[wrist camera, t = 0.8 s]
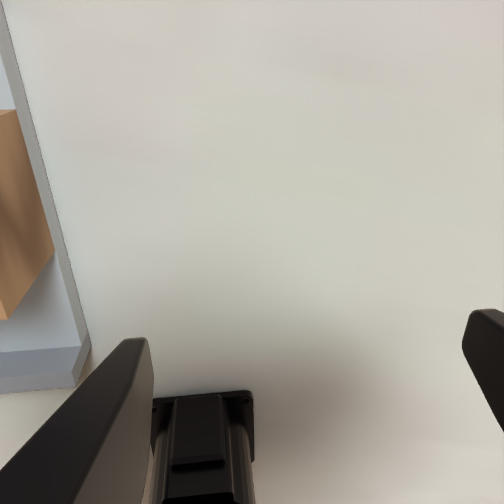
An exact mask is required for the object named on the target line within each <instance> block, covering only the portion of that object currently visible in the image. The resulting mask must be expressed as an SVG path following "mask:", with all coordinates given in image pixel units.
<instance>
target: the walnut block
mask: <svg viewBox="0 0 504 504" xmlns="http://www.w3.org/2000/svg"><path fill="white" fill-rule="evenodd" d="M54 251H55V248H54V245H53V241H52V237H51V234H50V230H49V227H48V223H47V219H46V216H45V212H44V209H43V205H42V201H41V198H40V194H39V191H38V187H37V183H36V180H35V176H34V173H33V169H32V165H31V162H30V158H29V155H28V151H27V147H26V144H25V140H24V137H23V133H22V129H21V126H20V122H19V118H18V115H17V111H16V109H7V110H0V320H8V319H9V317H10V316H11V314H12V313H13V311H14V310H15V309H16V307H17V306H18V304H19V303H20V301H21V300H22V298H23V297H24V295H25V294H26V292H27V291H28V289H29V288H30V287H31V285H32V284H33V282H34V281H35V279H36V278H37V276H38V275H39V273H40V272H41V270H42V269H43V267H44V266H45V265H46V263H47V262H48V260H49V259H50V257H51V256H52V254H53V253H54Z"/></svg>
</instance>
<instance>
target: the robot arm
mask: <svg viewBox="0 0 504 504" xmlns="http://www.w3.org/2000/svg"><path fill="white" fill-rule="evenodd" d="M462 350H463V353H464V356H465V358H466V360H467V362H468V364H469V366H470V368H471V370H472V372H473V374H474V376H475V378H476V380H477V382H478V384H479V386H480V388H481V390H482V392H483V394H484V396H485V398H486V400H487V402H488V404H489V406H490V408H491V410H492V412H493V414H494V416H495V418H496V419H497V421H498V423H499V425H500V426H501V428H502V430H503V432H504V313H503V312H501V311H499V310H496V309H480V310H474V311H472V313H471V314H470V315H469V318H468V322H467V325H466V329H465V332H464V336H463V339H462ZM153 384H154V374H153V366H152V361H151V355H150V349H149V344H148V341H147V339H146V338H144V337H140V338H128V339H124V340H123V341H122V342H121V343H120V344H119V345H118V346H117V347H116V348H115V349H114V350H113V351H112V352H111V353H110V354H109V355H108V357H107V358H106V359H105V360H104V361H103V362H102V363H101V364H100V365H99V366H98V367H97V368H96V369H95V370H94V371H93V372H92V373H91V375H90V376H89V377H88V378H87V379H86V380H85V381H84V382H83V383H82V384H81V385H80V386H79V387H78V388H77V389H76V390H75V391H74V393H73V394H72V395H71V396H70V397H69V398H68V399H67V400H66V401H65V402H64V403H63V404H62V405H61V406H60V407H59V408H58V410H57V411H56V412H55V413H54V414H53V415H52V416H51V417H50V418H49V419H48V420H47V421H46V422H45V423H44V424H43V425H42V426H41V428H40V429H39V430H38V431H37V432H36V433H35V434H34V435H33V436H32V437H31V438H30V439H29V440H28V441H27V442H26V443H25V444H24V446H23V447H22V448H21V449H20V450H19V451H18V452H17V453H16V454H15V455H14V456H13V457H12V458H11V459H10V460H9V461H8V462H7V464H6V465H5V466H4V467H3V468H2V469H1V470H0V504H141V503H142V497H143V492H144V486H145V480H146V475H147V468H148V461H149V451H150V442H151V447H152V452H153V457H154V462H153V470H152V479H151V487H150V496H149V504H256V503H255V494H254V485H253V476H252V467H251V463H252V462H253V461H254V413H253V395H252V393H251V392H250V391H248V390H242V391H231V392H220V393H209V394H198V395H187V396H177V397H166V398H155V399H153ZM244 398H247V399H244ZM152 407H155V408H152Z"/></svg>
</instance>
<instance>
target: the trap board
mask: <svg viewBox="0 0 504 504" xmlns="http://www.w3.org/2000/svg"><path fill="white" fill-rule="evenodd" d="M7 109H16V111H17V115H18V118H19V122H20V126H21V129H22V133H23V137H24V140H25V144H26V147H27V151H28V155H29V158H30V162H31V165H32V169H33V173H34V176H35V180H36V183H37V187H38V191H39V194H40V198H41V201H42V205H43V209H44V212H45V216H46V219H47V223H48V227H49V230H50V234H51V237H52V241H53V245H54V248H55V251H54V253H53V254H52V256H51V257H50V259H49V260H48V262H47V263H46V265H45V266H44V267H43V269H42V270H41V272H40V273H39V275H38V276H37V278H36V279H35V281H34V282H33V284H32V285H31V287H30V288H29V289H28V291H27V292H26V294H25V295H24V297H23V298H22V300H21V301H20V303H19V304H18V306H17V307H16V309H15V310H14V311H13V313H12V314H11V316H10V317H9V319H8V320H0V394H3V393H14V392H26V391H37V390H48V389H60V388H71V387H76V386H77V384H78V381H79V378H80V375H81V372H82V370H83V367H84V364H85V361H86V359H87V356H88V353H89V350H90V347H91V342H90V338H89V335H88V331H87V327H86V323H85V319H84V316H83V312H82V308H81V304H80V300H79V297H78V293H77V289H76V285H75V281H74V278H73V274H72V270H71V266H70V262H69V259H68V255H67V251H66V247H65V243H64V240H63V236H62V232H61V228H60V224H59V220H58V217H57V213H56V209H55V205H54V201H53V198H52V194H51V190H50V186H49V182H48V179H47V175H46V171H45V167H44V163H43V160H42V156H41V152H40V148H39V144H38V141H37V137H36V133H35V129H34V125H33V122H32V118H31V114H30V110H29V106H28V102H27V99H26V95H25V91H24V87H23V83H22V80H21V76H20V72H19V68H18V64H17V61H16V57H15V53H14V49H13V45H12V42H11V38H10V34H9V30H8V26H7V23H6V19H5V15H4V11H3V7H2V4H1V0H0V110H7Z"/></svg>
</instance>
